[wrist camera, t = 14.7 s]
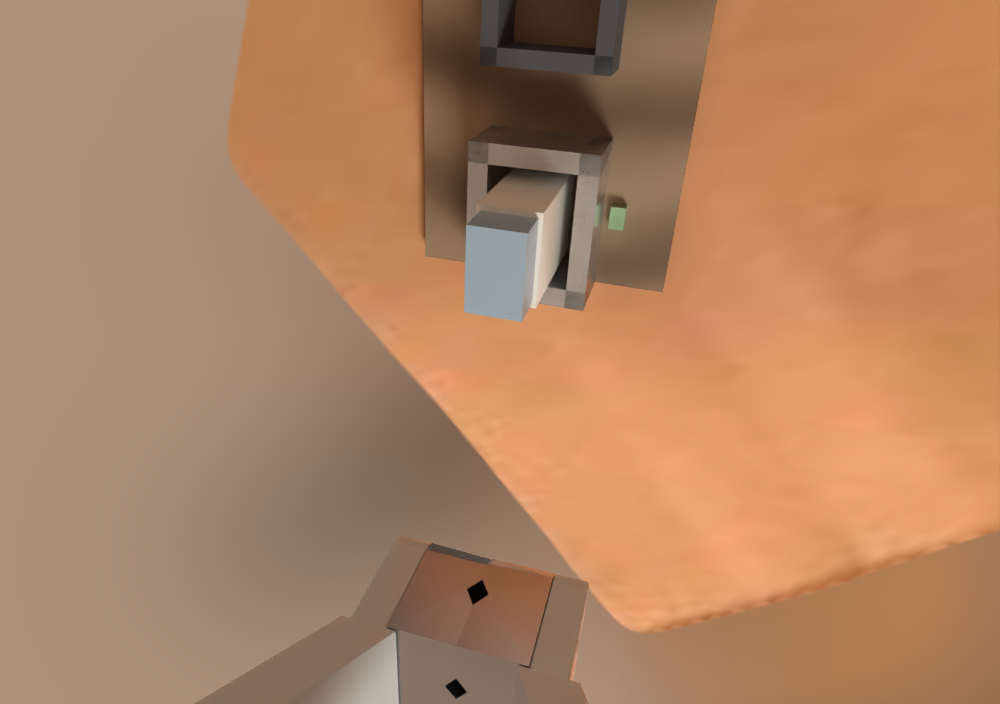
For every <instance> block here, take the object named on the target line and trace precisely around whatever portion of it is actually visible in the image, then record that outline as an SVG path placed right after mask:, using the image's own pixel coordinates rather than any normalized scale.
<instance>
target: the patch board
mask: <svg viewBox="0 0 1000 704" xmlns="http://www.w3.org/2000/svg"><path fill="white" fill-rule="evenodd" d="M716 1H717V0H627V7H626V15H625V23H624V31H623V39H622V47H621V55H620V63H619V69H618V70H617V71H616V72H615V73H614V74H613V75H612V76H600V75H589V74H577V73H566V72H554V71H543V70H531V69H520V68H508V67H497V66H485V65H480V36H481V2H482V0H423V67H424V163H425V256H428V257H435V258H441V259H448V260H454V261H461V262H465V257H466V225H467V181H468V141H469V140H470V139H472V138H473V137H475V136H476V135H478V134H479V133H481V132H482V131H484V130H485V129H487V128H488V127H490V126H491V125H496V126H505V127H515V128H524V129H533V130H543V131H552V132H562V133H571V134H581V135H590V136H599V137H609V138H613V142H612V150H611V158H610V165H609V173H608V181H607V189H606V197H605V204H604V212H603V220H602V228H601V236H600V244H599V251H598V259H597V267H596V275H595V282H599V283H606V284H612V285H619V286H625V287H632V288H638V289H645V290H652V291H658V292H663V287H664V282H665V277H666V271H667V266H668V260H669V255H670V250H671V244H672V239H673V233H674V228H675V223H676V217H677V212H678V206H679V201H680V196H681V190H682V185H683V179H684V174H685V169H686V163H687V158H688V153H689V147H690V142H691V136H692V131H693V126H694V120H695V115H696V109H697V104H698V99H699V93H700V88H701V82H702V77H703V72H704V66H705V61H706V55H707V50H708V45H709V39H710V34H711V28H712V23H713V18H714V12H715V7H716ZM600 5H601V0H516V4H515V23H514V42H519V43H532V44H544V45H557V46H570V47H583V48H595V49H596V42H597V33H598V24H599V14H600ZM513 168H514V167H508V173H509V172H510V171H511V170H512V169H513ZM577 181H578V175H575V185H574V194H573V204H572V213H571V223H570V233H569V242H568V249H567V251H566V253H565V255H564V257H563V259H562V260H569V257H570V247H571V238H572V228H573V219H574V209H575V200H576V190H577ZM612 204H620V205H627V211H626V218H625V225H624V229H623V231H621V230H614V229H608V224H609V217H610V209H611V205H612Z"/></svg>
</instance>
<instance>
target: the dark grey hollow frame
mask: <svg viewBox="0 0 1000 704" xmlns="http://www.w3.org/2000/svg"><path fill="white" fill-rule="evenodd" d="M515 4H516V0H482V2H481V36H480V65H485V66H497V67H508V68H520V69H531V70H543V71H554V72H566V73H577V74H589V75H600V76H612V75H613V74H614V73H615V72H616V71H617V70H618V69H619V63H620V55H621V47H622V39H623V31H624V23H625V15H626V7H627V0H601V5H600V14H599V24H598V33H597V42H596V49H595V48H583V47H570V46H557V45H544V44H532V43H519V42H514V23H515Z"/></svg>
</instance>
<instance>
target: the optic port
mask: <svg viewBox="0 0 1000 704" xmlns="http://www.w3.org/2000/svg"><path fill="white" fill-rule="evenodd" d="M612 142H613V138H609V137H599V136H590V135H581V134H571V133H562V132H552V131H543V130H533V129H524V128H515V127H505V126H496V125H491V126H490V127H488V128H487V129H485V130H484V131H482V132H481V133H479V134H478V135H476V136H475V137H473V138H472V139H470V140H469V141H468V181H467V224H468V223H469V222H470V221H471V220H472V219H473V218H474V217H475V216H476V204H477V203H478V202H479V201H480V200H481V199H482V198H483V197H484V196H485V195H486V194H487V193H489V192H490V191H491V190H492V189H493V188H494V187H495V186H496V185H497V184H498V183H499V182H500V181H501V180H502V179H503V178H504V177H505V176H506V175H507V174H508V167H515V168H523V169H531V170H540V171H548V172H557V173H565V174H573V175H578V181H577V190H576V200H575V209H574V219H573V228H572V238H571V247H570V257H569V260H562V261H561V262H560V264H559V266H558V268H557V270H556V272H555V274H554V276H553V277H552V279H551V281H550V283H549V285H548V287H547V289H546V291H545V292H544V294H543V296H542V298H541V300H540V302H539V304H544V305H551V306H557V307H563V308H569V309H575V310H581V311H583V310H584V307H585V305H586V302H587V300H588V297H589V294H590V292H591V289H592V287H593V284H594V282H595V275H596V267H597V259H598V251H599V244H600V236H601V228H602V220H603V212H604V204H605V197H606V189H607V181H608V173H609V165H610V158H611V150H612ZM626 211H627V205H620V204H612V205H611V209H610V217H609V224H608V229H614V230H621V231H623V229H624V225H625V218H626Z"/></svg>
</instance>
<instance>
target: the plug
mask: <svg viewBox="0 0 1000 704" xmlns="http://www.w3.org/2000/svg"><path fill="white" fill-rule="evenodd" d="M574 185H575V175H573V174H565V173H557V172H548V171H540V170H531V169H523V168H515V167H514V168H513V169H512V170H511V171H510V172H509V173H508V174H507V175H506V176H505V177H504V178H503V179H502V180H501V181H500V182H499V183H498V184H497V185H496V186H495V187H494V188H493V189H492V190H491V191H490V192H489V193H487V194H486V195H485V196H484V197H483V198H482V199H481V200H480V201H479V202H478V203H477V204H476V216H475V217H474V218H473V219H472V220H471V221H470V222H469V223H468V224H467V225H466V257H465V301H464V312H466V313H472V314H478V315H484V316H490V317H495V318H501V319H507V320H513V321H519V322H522V320H523V318H524V317H525V315H526V313H527V311H528V309H529V308H536V307H537V306H538V304H539V302H540V300H541V298H542V296H543V294H544V292H545V291H546V289H547V287H548V285H549V283H550V281H551V279H552V277H553V276H554V274H555V272H556V270H557V268H558V266H559V264H560V262H561V261H562V259H563V257H564V255H565V253H566V251H567V249H568V242H569V233H570V223H571V213H572V204H573V194H574Z"/></svg>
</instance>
